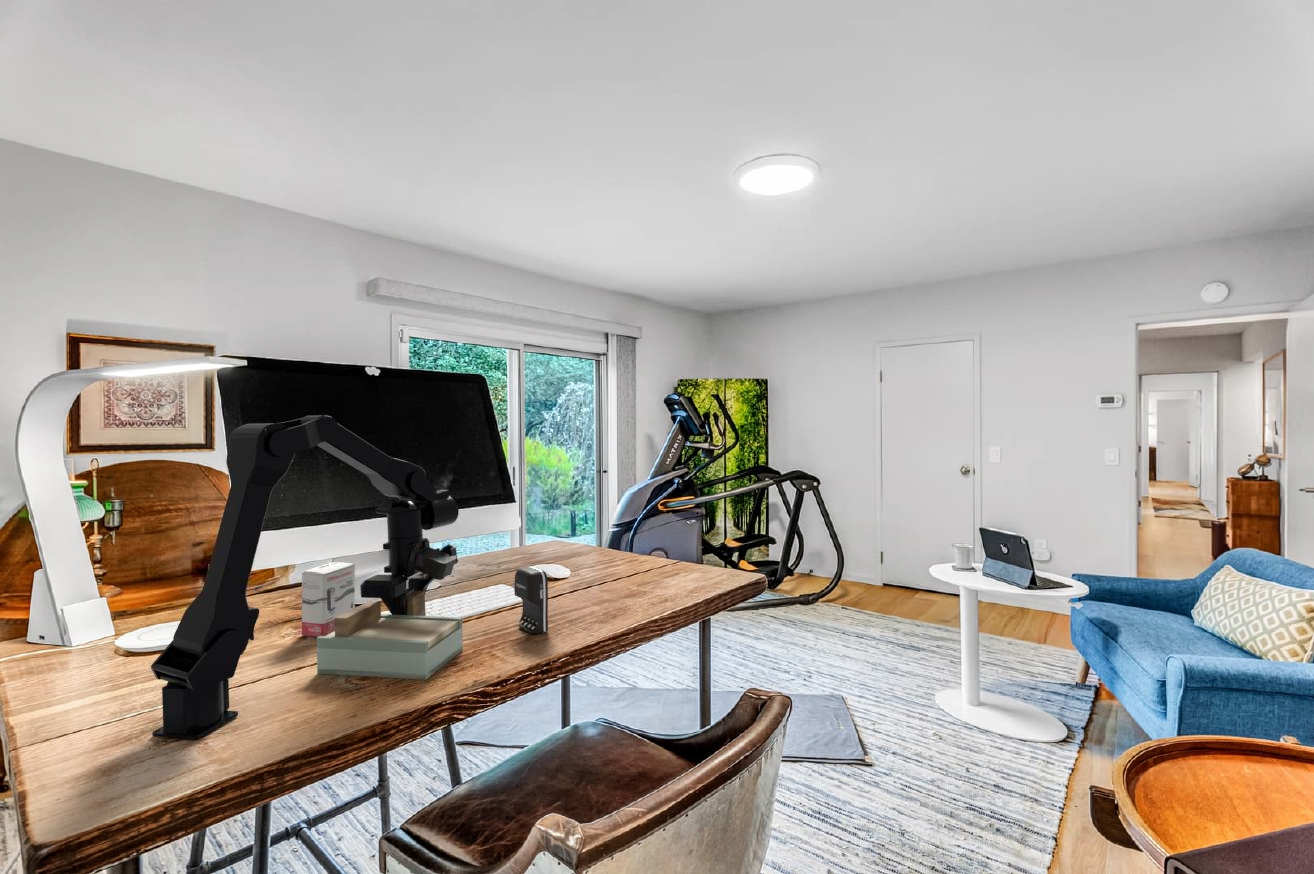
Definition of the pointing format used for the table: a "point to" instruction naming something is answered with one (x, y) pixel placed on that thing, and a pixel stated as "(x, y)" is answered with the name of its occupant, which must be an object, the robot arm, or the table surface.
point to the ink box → (326, 596)
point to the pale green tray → (388, 653)
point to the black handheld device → (532, 599)
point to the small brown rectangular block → (416, 604)
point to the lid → (389, 626)
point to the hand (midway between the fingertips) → (409, 621)
